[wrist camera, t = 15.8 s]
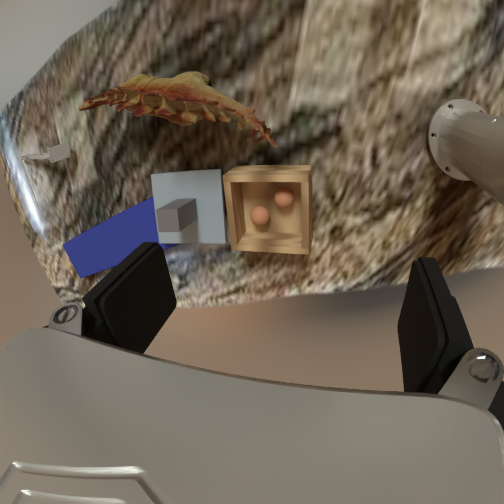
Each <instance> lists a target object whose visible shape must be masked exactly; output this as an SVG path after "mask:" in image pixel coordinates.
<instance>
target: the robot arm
mask: <svg viewBox="0 0 504 504" xmlns="http://www.w3.org/2000/svg"><path fill="white" fill-rule="evenodd" d="M448 105H450V108H449V107H448ZM479 111H480V112H479ZM432 133H433V136H431V134H432ZM427 138H428V146H429V150H430V153H431V155H432V157H433V159H434V161H435V162H436V164H437V165H438V166H439V168H440V169H441V170H442V171H443V172H445V173H446V174H447V175H449V176H451V177H452V178H455V179H458V180H463V181H468V180H471V181H473V182H474V183H475V184H477V185H478V186H479V187H480V188H482V189H483V190H484V191H485V192H487V193H488V194H489V195H490V196H492V197H493V198H494V199H495V200H497V201H498V202H499V203H500V204H502V205H503V206H504V117H500V116H496V115H491V114H487V113H486V111H485V110H484V109H483V108H481V107H480V106H479V105H477V104H476V103H474V102H472V101H469V100H465V99H453V100H449V101H447V102H445V103H443V104H441V105H440V106H439V107H438V108H437V109H436V110H435V112H434V113H433V115H432V117H431V119H430V122H429V126H428V133H427ZM446 167H447V169H445V168H446ZM82 299H83V301H84V303H85V306H86V307H85V308H84V309H83V308H82V306H81V305H80V304H79V303H76V302H71V303H67V304H64V305H62V306H60V307H59V308H57V309H56V310H55V311H54V312H53V313H52V315H51V317H50V320H49V325H48V326H45V327H41V328H30V329H26V330H22V331H20V332H19V333H17V334H16V335H14V336H13V337H12V338H11V339H10V340H9V341H8V342H7V343H5V345H3V346H2V347H1V349H0V504H504V382H503V381H502V379H503V375H504V367H503V365H502V362H501V360H500V359H499V358H498V357H497V355H495V354H494V353H493V352H491V351H489V350H487V349H482V348H474V347H473V344H472V341H471V338H470V335H469V332H468V329H467V327H466V324H465V322H464V319H463V316H462V313H461V311H460V308H459V306H458V304H457V301H456V299H455V297H453V296H451V294H450V291H449V289H448V287H447V284H446V282H445V280H444V277H443V275H442V273H441V271H440V268H439V266H438V264H437V262H436V260H435V258H428V257H419V258H418V260H417V261H413V263H412V267H411V272H410V276H409V281H408V285H407V290H406V294H405V298H404V302H403V306H402V309H401V314H400V317H399V321H398V337H399V343H400V353H401V362H402V372H403V383H404V392H398V391H374V390H358V389H346V388H333V387H322V386H312V385H303V384H294V383H286V382H279V381H271V380H265V379H258V378H252V377H246V376H240V375H235V374H229V373H224V372H218V371H213V370H209V369H204V368H199V367H194V366H190V365H185V364H181V363H177V362H172V361H169V360H165V359H160V358H156V357H152V356H149V355H145V354H143V353H144V352H145V350H146V349H147V348H148V346H149V345H150V343H151V342H152V340H153V339H154V338H155V336H156V335H157V333H158V332H159V330H160V329H161V327H162V326H163V325H164V323H165V322H166V320H167V319H168V318H169V316H170V315H171V314H172V312H173V311H174V309H175V308H176V302H177V301H176V297H175V293H174V290H173V286H172V282H171V278H170V274H169V271H168V267H167V263H166V259H165V255H164V251H163V248H162V247H161V246H160V245H159V244H158V243H157V242H143V243H142V244H140V245H139V246H138V247H137V248H136V249H135V250H134V251H132V252H131V253H130V254H129V255H128V256H127V257H126V258H125V259H123V260H122V261H121V262H120V263H119V264H118V265H117V266H116V267H115V268H114V269H112V270H111V271H110V272H109V273H108V274H107V275H106V276H105V277H104V278H103V279H102V280H101V281H100V282H99V283H97V284H96V285H95V286H94V287H93V288H92V289H91V290H90V291H89V292H88V293H87V294H86V295H85V296H84V297H83V298H82Z"/></svg>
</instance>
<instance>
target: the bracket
mask: <svg viewBox="0 0 504 504" xmlns="http://www.w3.org/2000/svg"><path fill="white" fill-rule="evenodd" d="M67 143H68V142H67ZM67 143H64V144H60V145H57V146H54V147H51V148H49V151H48V152H49V153H48V152H47V153H42V154H31V155H25V156H22V157H20V159H21V160H28V159H45V158H49V159H48V160H50V161H51V160H53V162H56V161H59V160H62V159H65V158H68V157H70V156H71V154H70V147H69V143H68V145H67ZM50 149H51V150H50ZM68 155H70V156H68ZM53 162H52V161H51V163H53Z"/></svg>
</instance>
